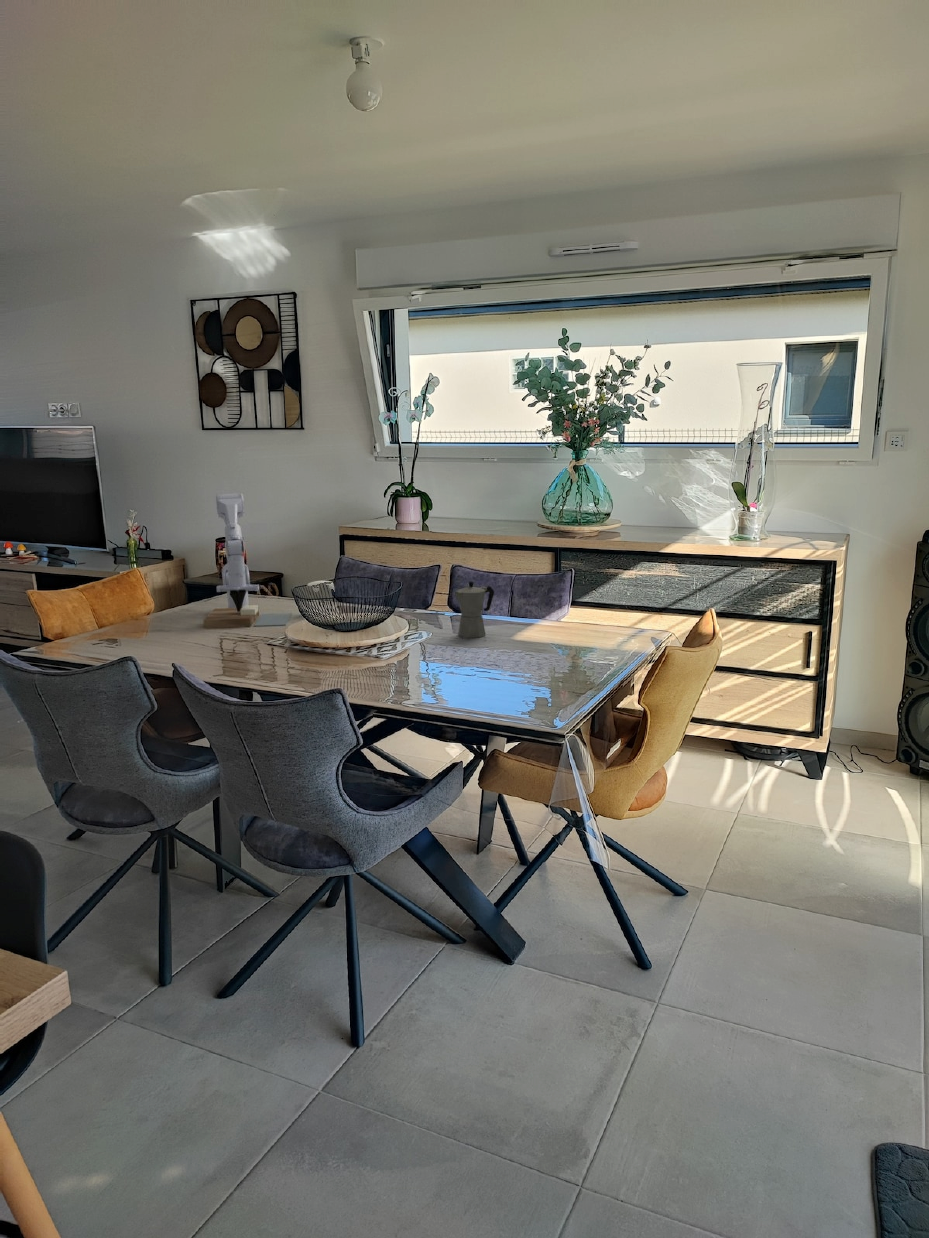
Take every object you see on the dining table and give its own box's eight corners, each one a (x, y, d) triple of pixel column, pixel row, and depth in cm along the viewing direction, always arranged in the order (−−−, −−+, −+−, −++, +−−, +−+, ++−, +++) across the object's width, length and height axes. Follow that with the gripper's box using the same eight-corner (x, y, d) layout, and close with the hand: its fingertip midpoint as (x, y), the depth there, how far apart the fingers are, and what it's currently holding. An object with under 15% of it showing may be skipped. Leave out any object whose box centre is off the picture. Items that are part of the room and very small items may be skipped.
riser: (215, 616, 323) (214, 608, 322) (259, 615, 324) (258, 607, 323) (204, 628, 305) (203, 619, 304) (250, 626, 306) (250, 618, 305)
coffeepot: (462, 640, 282) (461, 585, 278) (447, 634, 290) (446, 581, 286) (501, 633, 290) (501, 580, 286) (486, 628, 298) (486, 576, 294)
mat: (261, 615, 324) (261, 614, 323) (291, 614, 324) (291, 613, 324) (253, 626, 306) (253, 625, 306) (285, 625, 307) (285, 624, 307)
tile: (244, 610, 317) (243, 605, 317) (258, 610, 318) (257, 605, 317) (240, 615, 310) (240, 609, 310) (255, 614, 311) (254, 609, 310)
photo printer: (334, 611, 329) (332, 578, 326) (336, 613, 325) (334, 580, 322) (306, 613, 325) (305, 580, 322) (308, 615, 321) (306, 582, 318)
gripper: (213, 576, 306) (216, 613, 309) (255, 575, 307) (258, 612, 310) (217, 572, 313) (220, 609, 316) (258, 571, 314) (261, 608, 317)
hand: (239, 610), depth 314 cm, fingers closed
